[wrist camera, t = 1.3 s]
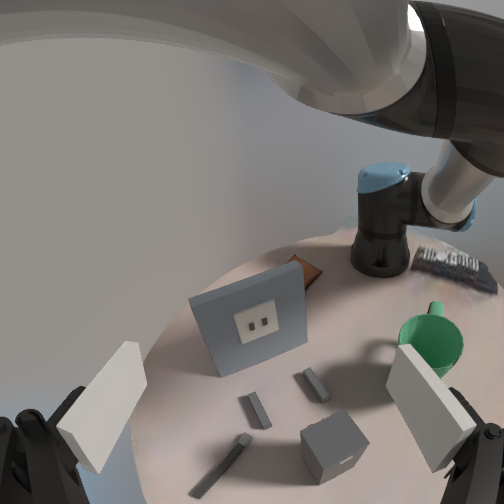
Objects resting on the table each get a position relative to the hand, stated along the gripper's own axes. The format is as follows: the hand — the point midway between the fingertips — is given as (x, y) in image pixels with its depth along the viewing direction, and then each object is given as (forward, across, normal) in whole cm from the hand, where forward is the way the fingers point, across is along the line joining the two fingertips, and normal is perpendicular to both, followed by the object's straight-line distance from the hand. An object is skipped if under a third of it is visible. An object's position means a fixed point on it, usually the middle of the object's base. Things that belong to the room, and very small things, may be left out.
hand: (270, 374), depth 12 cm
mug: (+20, +25, -17) cm, 36 cm away
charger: (+9, +9, -23) cm, 27 cm away
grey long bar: (+10, -5, -26) cm, 28 cm away
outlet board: (+24, +3, -20) cm, 31 cm away
